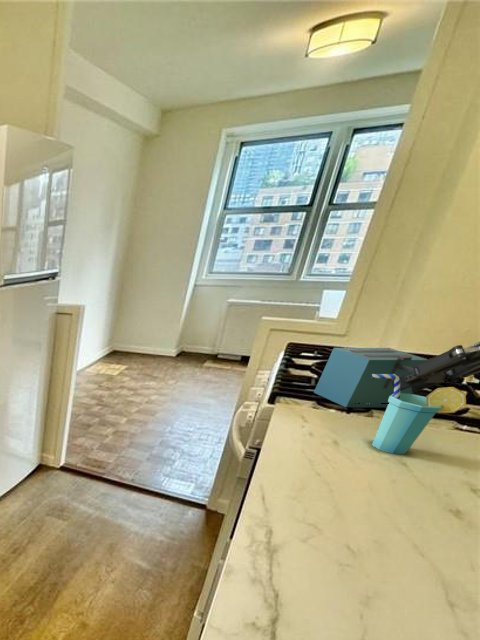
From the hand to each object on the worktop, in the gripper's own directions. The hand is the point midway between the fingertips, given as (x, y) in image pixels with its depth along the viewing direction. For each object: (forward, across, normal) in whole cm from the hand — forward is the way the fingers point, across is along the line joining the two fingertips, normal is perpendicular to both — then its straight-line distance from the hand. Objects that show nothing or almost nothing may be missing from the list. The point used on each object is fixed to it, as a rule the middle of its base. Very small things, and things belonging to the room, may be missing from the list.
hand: (403, 386), depth 111 cm
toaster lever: (-3, 0, +1) cm, 3 cm away
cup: (-7, -17, -17) cm, 25 cm away
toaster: (+11, 0, +1) cm, 11 cm away
